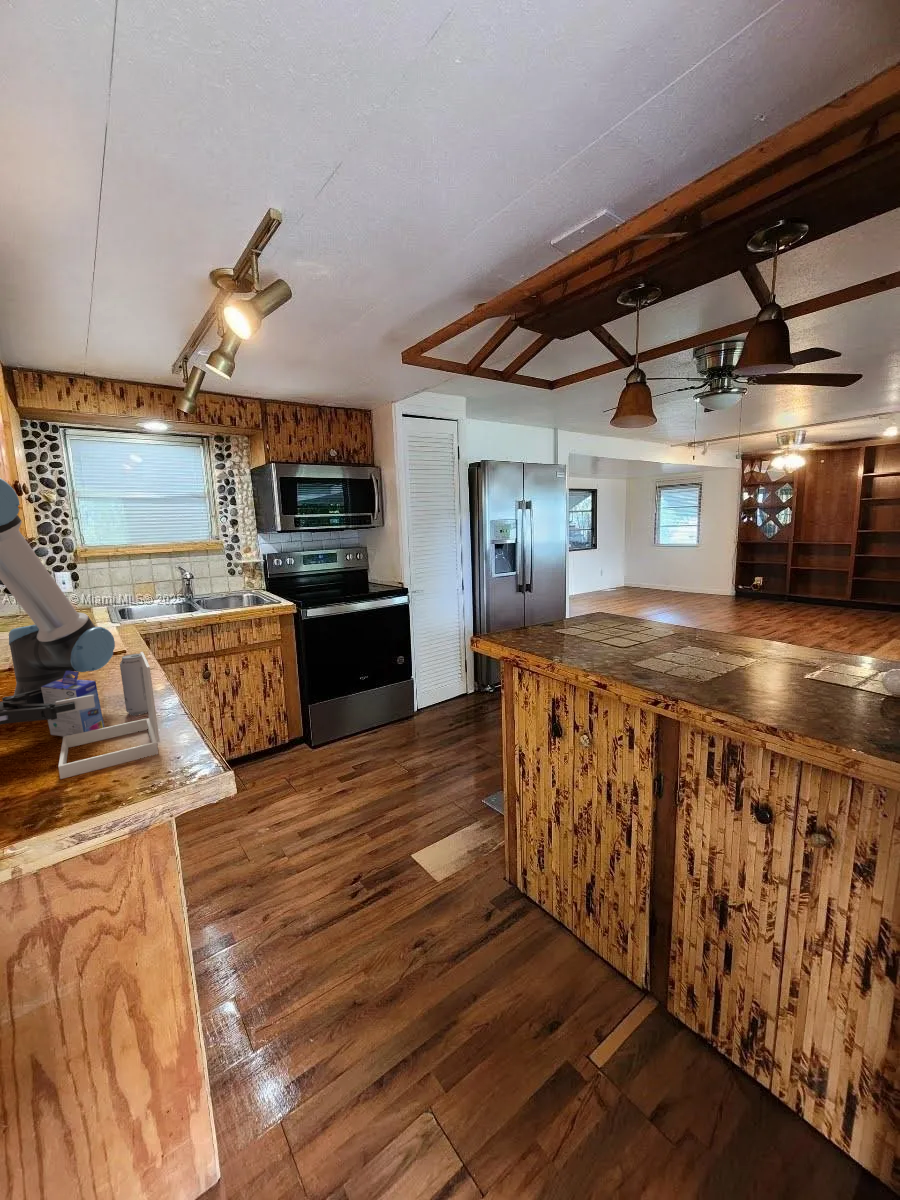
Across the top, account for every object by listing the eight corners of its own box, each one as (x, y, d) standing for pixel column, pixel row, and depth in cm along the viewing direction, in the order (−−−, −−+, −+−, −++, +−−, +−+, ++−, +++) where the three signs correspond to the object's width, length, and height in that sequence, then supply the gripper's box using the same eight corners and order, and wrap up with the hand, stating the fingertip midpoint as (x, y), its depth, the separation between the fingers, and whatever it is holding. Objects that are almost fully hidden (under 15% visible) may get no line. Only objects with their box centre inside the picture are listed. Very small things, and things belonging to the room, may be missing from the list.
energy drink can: (132, 709, 129) (124, 654, 127) (157, 706, 131) (150, 652, 129) (122, 717, 124) (114, 659, 122) (149, 714, 125) (141, 657, 123)
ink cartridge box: (107, 727, 115) (95, 671, 112) (86, 740, 110) (72, 681, 106) (72, 723, 117) (59, 667, 113) (49, 735, 112) (35, 677, 108)
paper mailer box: (65, 747, 106) (51, 665, 104) (152, 727, 116) (142, 651, 113) (60, 779, 92) (45, 684, 89) (161, 753, 101) (149, 666, 99)
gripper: (-19, 716, 111) (96, 695, 123) (-43, 754, 91) (96, 724, 103) (-25, 685, 110) (91, 666, 122) (-50, 716, 90) (91, 690, 102)
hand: (94, 693), depth 113 cm, fingers open, 13 cm apart
